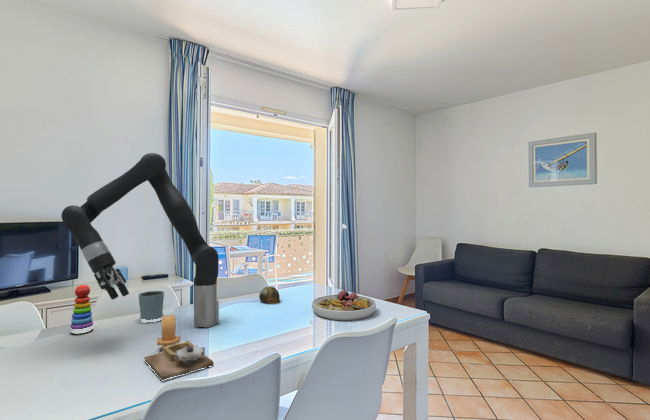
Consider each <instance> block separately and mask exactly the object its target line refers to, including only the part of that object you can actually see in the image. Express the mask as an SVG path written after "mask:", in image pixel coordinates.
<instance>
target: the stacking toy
mask: <svg viewBox="0 0 650 420" xmlns="http://www.w3.org/2000/svg"><path fill="white" fill-rule="evenodd" d="M90 293H91V288H90V286H89V285H87V284H80V285H78V286H77V287H75V290H74V294H75V296H76V297H75V298H74V302H75V303H74V305H73V307H74V308H73V309H72V311H73V313H72V314H71V321H70V322H71V323H70V329H71V328H72V329H83V328H87V327H90V326H92V325H93V326H94V321H93V316H92V315H93V312H92V306H91V305H92V303H91V301H90V300H91V297H90V296H89V295H90Z"/></svg>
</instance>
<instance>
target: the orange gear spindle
mask: <svg viewBox="0 0 650 420" xmlns="http://www.w3.org/2000/svg"><path fill="white" fill-rule="evenodd" d="M176 326H177V325H176V315H175V314H169V315H163V317H162V320H161V337H160V338H157V341H156V345H157V346H161V348H162V347H165V346H169V345H173V344H177V343H181V336H180V335H176V329H177V327H176Z"/></svg>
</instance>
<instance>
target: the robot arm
mask: <svg viewBox="0 0 650 420" xmlns="http://www.w3.org/2000/svg"><path fill="white" fill-rule="evenodd" d="M166 168H167V163H166V159H165V158H164V157H163V156H162V155H161V154H159V153H156V152H149V153H146V154H144V155H143V156H142V157H140V159H139V160H138V162H136V164H134V165H133V166H132V167H131V168H130V169H128V170H127V171H126V172H124V173H123V174H122V175H120V176H118V177H117V178H115V179H114V180H111V181H110V182H108V183H106V184H105V185H103V186H102V187H100V188H99V189H97V190H95V191H94V192H93V193H91V194H90V195H88V197H87V198H86V201H85V202H84V203H83V204H81V206H78V205H74V204H73V205H72V204H71V205H68V206H66V207H64V209H63V210H62V212H61V220H62V222H63V224H64V225H65V227H66V229H67V230H68V232H70V234H71V235H72V237H74V239H75V241H76V243H77V245H78V246H79V248H80V250H81V253H82V254H83V257H84V259H85V261H86V263H87V264H88V267H89V268H90V271H92V273H93V276H94V278H95V280H96V281H97V284H98V285H99V287H100V289H101V290H104V291H106V292H107V294H108V295H109V297H110V299H111V300H115V299H117V298H119V294H118V292H117V291H116V288H117V289H118V290H119V292H120V294H121V296H122V297H125V296H128V295H129V294H130V291H129V289H128V288H127V287H126V285H125V284H126V283H127V280H126V278H125V277H124V275H123V273H122V271H121V269H119V268H116V269H115V268H114V266H115V265H116V260H115V258H114V257H113V255H112V252H111V251H110V249H109V248H108V246H107V244H106V243H105V242H104V240H103V239H102V237H101V235H100V233H99V232H98V231H97V229H95V228H94V226H93V225H92V222H94V220H95V219H97V217H99V216H100V215H101V213H103V212H104V211H105V210H107V209H108V208H110V207H111V206H112V205H114V204H116V203H117V202H118V201H120V200H121V199H123V198H124V197H125V196H126V195H128V194H129V193H130V192H131V191H133V190H134V189H135V188H137V187H138V186H140V185H142V184H144V183H145V182H147V181H148V183H149V184H150V186H151V188H153V190H154V192H155V193H156V195H157V198H158V200H159V201H158V202H160V205H161V207H162V209H163V211H164V213H165V215H166V216H167V218H168V219H169V222H170V223H171V225H172V226H173V228H174V229H175V231H176V233H177V234H178V235H179V237H180V238H181V239H182V241H183V243H184V244H185V247H186V248H187V251H188V253H189V256H190V258H191V260H192V262H193V263H194V264H195V274H194V278H193V327H194V326H196V327H195V328H197V327H208V328H212V327H215V326H216V325H219V324H220V320H219V319H220V316H219V315H220V307H219V305H220V304H219V300H218V299H217V298H218V297H217V296H218V293H217V292H218V290H217V289H218V287H217V286H218V285H217V284H218V283H217V282H218V277H219V254H218V251H217V249H215V248H214V247H213V246H210V245H209V244H208V243H207V241H206V240H205V239H204V237H203V236H202V234H201V232H200V229H199V226H198V224H197V220H196V217H195V215H194V212H193V210H192V208H191V207H190V205H189V203H188V201H187V200H186V199H185V196H183V194H182V193H181V192H180V191H179V190H178V189H177V187H176V186H175V185H174V183H173V182H172V180H171V177H170V176H169V174H168V171H167V169H166ZM114 285H115V286H116V288H115V286H114ZM211 326H212V327H211Z"/></svg>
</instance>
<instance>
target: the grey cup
mask: <svg viewBox="0 0 650 420" xmlns="http://www.w3.org/2000/svg"><path fill="white" fill-rule="evenodd" d="M164 297H165V292H164V291H162V290H151V291H150V290H148V291H144V292H140V293H138V303H139V305H138V306H139V311H140V312H139V313H140V315H139V316H140V317H139V318H140V320H141V319H146V320H151V319H152V320H153V319H158V318H161V317H162V316H163V317H164V314H163V313H164V312H163V310H164V300H165V299H164Z"/></svg>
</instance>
